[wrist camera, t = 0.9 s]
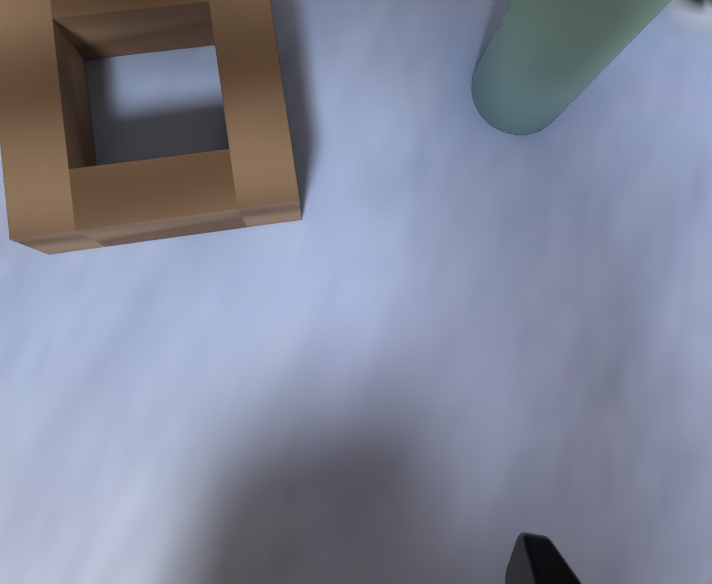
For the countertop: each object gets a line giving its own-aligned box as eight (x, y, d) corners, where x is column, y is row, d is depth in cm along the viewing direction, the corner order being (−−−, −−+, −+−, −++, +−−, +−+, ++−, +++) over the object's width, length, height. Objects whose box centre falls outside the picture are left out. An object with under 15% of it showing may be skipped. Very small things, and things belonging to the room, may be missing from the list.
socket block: (301, 219, 25) (299, 200, 22) (48, 254, 24) (9, 239, 21) (267, -12, 26) (261, -60, 23) (23, 15, 25) (-17, -33, 22)
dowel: (580, 112, 26) (743, -43, 16) (497, 149, 25) (612, 15, 15) (537, 30, 26) (671, -172, 16) (455, 66, 26) (541, -118, 16)
